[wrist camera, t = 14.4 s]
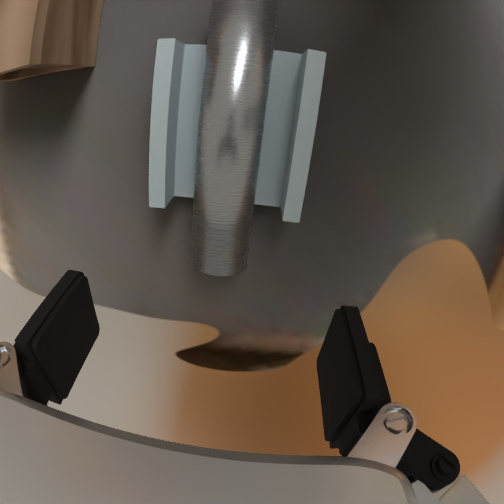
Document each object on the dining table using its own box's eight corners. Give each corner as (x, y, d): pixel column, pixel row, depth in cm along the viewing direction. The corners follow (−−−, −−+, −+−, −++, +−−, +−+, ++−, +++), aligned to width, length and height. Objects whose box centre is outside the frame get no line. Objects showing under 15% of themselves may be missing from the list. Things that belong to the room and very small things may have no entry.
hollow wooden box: (118, -59, 12) (70, -96, 5) (95, 66, 17) (29, 64, 10) (37, -33, 11) (-19, -50, 5) (18, 80, 17) (-48, 90, 10)
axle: (223, -5, 14) (207, -24, 11) (283, -1, 14) (279, -22, 10) (200, 244, 22) (183, 270, 19) (250, 252, 22) (241, 280, 19)
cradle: (314, 59, 17) (326, 52, 14) (293, 201, 22) (299, 222, 18) (175, 47, 17) (157, 38, 13) (166, 188, 21) (148, 206, 18)
